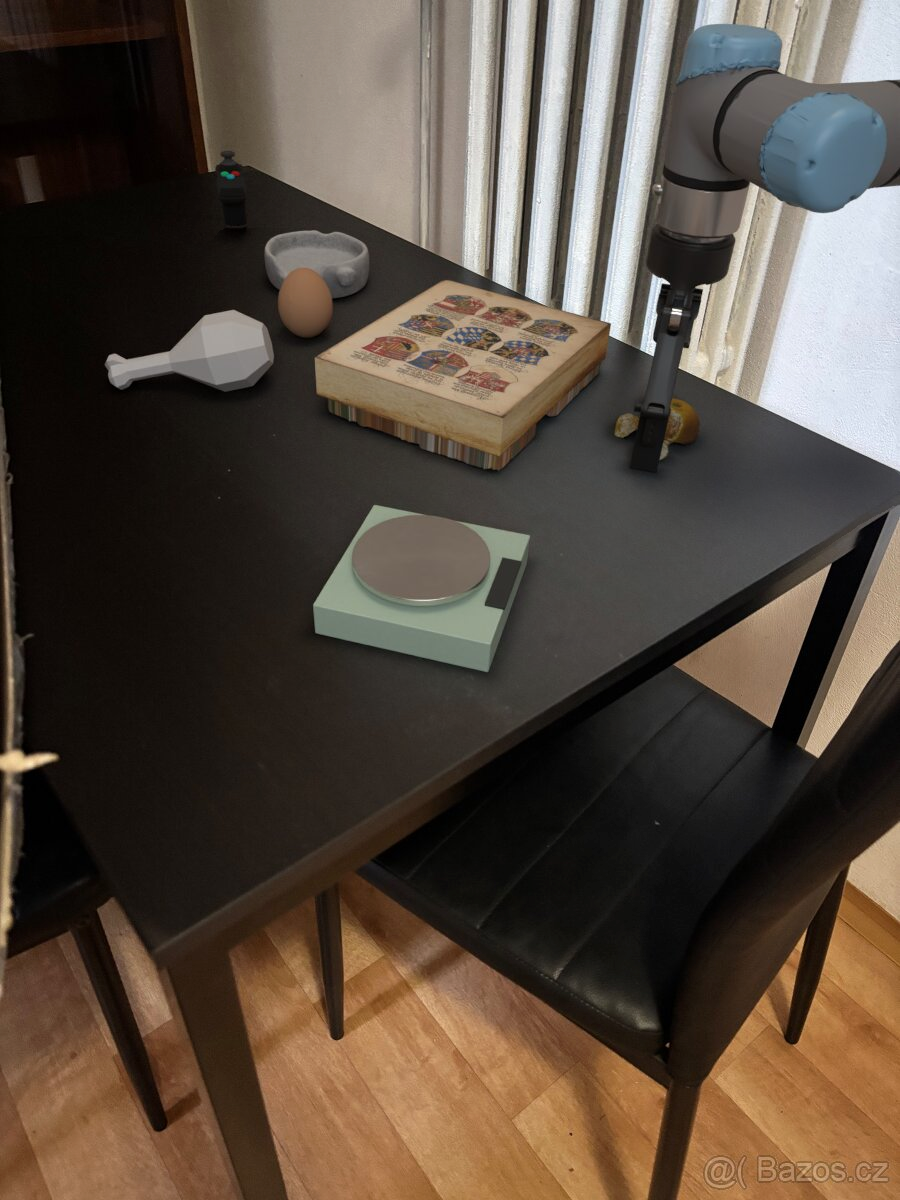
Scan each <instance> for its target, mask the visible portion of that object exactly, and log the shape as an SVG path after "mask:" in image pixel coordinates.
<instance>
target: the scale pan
mask: <svg viewBox="0 0 900 1200" xmlns="http://www.w3.org/2000/svg"><path fill="white" fill-rule="evenodd" d="M457 521H458V520H454V519H451V518H447V517H443V516H438V515H437V516H436V515H430V514H429V515H428V514H423V515H410V516H402V517H397V518H393V519H389V520H386V521H383V522H381V523H379V524H377V525H375V526H373V527H372V528H370V529H369V530H367V531H366V532H365V533H364V534H363V535H362V536H361V537H360V538H359V540H358V541H357V542H356V544H355V546H354V549H353V553H352V564H353V570H354V572H355V575H356V576H357V578H358V580H359V581H360V582H361V583H362V585H363V586H364V587H366V588H367V589H368V590H369V591H371V592H372V593H374V594H375V595H377V596H379V597H381V598H383V599H386V600H389V601H392V602H395V603H399V604H405V605H412V606H433V605H441V604H446V603H450V602H453V601H456V600H459V599H461V598H464V597H465V596H467V595H469V594H471V593H472V592H474V591H475V590H476V589H477V588H478V587H479V586H481V584H482V583H483V582H484V581H485V579H486V577H487V575H488V573H489V569H490V552H489V549H488V547H487V545H486V543H485V541H484V540H483V539H482V538H481V537H480V536H479V535H478V534H477V533H476V532H475V531H473V530H472V529H471V528H469V527H467V526H465V525H464V524H461V523H459V522H460V521H459V522H457Z"/></svg>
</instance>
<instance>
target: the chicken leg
mask: <svg viewBox="0 0 900 1200" xmlns="http://www.w3.org/2000/svg"><path fill="white" fill-rule="evenodd" d="M274 359H275V354H274V348H273V343H272V340H271V336H270V333H269V329H268V327H267V326H266V325H265V323H263V322H261V321H260V320H257V319H255V318H252V317H250V316H248V315H246V314H244V313H241V312H239V311H237V310H235V309H230V310H226V311H220V312H216V313H211V314H206V315H203V316H202V318H200V320H198V322H197V323H195V325H194V326H192V327H191V329H190V330H189V331H188V332H187V333H186V334H185V335H184V336H183V337H182V338H181V339H180V340H179V341H178V342H177V343H176V344H175V345H174V346H173V348H171V350H170V351H164V352H158V353H154V354H149V355H144V356H138V357H133V358H128V359H126V358H124V357H122V356H120V355H119V354H117V353H112V354H109V355H108V357H107V358H106V361H105V363H104V366H105V368H106V369H107V371H108V373H107V377H108V379H109V382H110V384H111V385H112V386H114V387H116V388H117V389H119V390H122V391H123V390H125V389H127V388H129V387H130V386H131V384H132V383H133V382H135V381H140V380H146V379H150V378H151V379H152V378H156V377H161V376H166V375H171V374H177V375H181V376H183V377H186V378H188V379H191V380H193V381H196V382H199V383H201V384H203V385H206V386H208V387H212V388H214V389H216V390H218V391H222V392H225V393H226V392H232V391H237V390H241V389H245V388H246V389H247V388H250V387H254V386H255V384H257V382H258V381H259V380H260V379H261V378H262V377H263V376H264V375H265V373H267V371H268V370H269V369H270V368H271V366H272V365H274Z"/></svg>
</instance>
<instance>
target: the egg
mask: <svg viewBox="0 0 900 1200" xmlns="http://www.w3.org/2000/svg"><path fill="white" fill-rule="evenodd" d="M277 297H278V298H277V307H278V308H277V309H278V313H279V314H278V315H279V317H280V319H281V321H282V323H283V325H284V326H285V327H286V329H288V330H289V331H290V332H291V333H292V334H293V335H294V336H297V337H300V338H303V339H312V338H314V337H317V336H319V335H320V334H322V333H323V332H324V331H325V330H326V329H327V327H328V326H329V324H330V322H331V320H332V317H333V314H334V313H333V311H334V305H333V298H332V297H331V293H330V291H329V289H328V287H327V285H326V283H325V281H324V280H323V279H322V277H321V276H320V275H319V274H318V273H317V272H315V271H313V270H312V269H309V268H298V269H295V270H294V271H292V272H290V273H289V274H288V275H287V277H286V278H285V280H284V282H283V283H282V286H281V289H280V290H279V292H278V296H277Z"/></svg>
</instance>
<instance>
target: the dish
mask: <svg viewBox="0 0 900 1200" xmlns="http://www.w3.org/2000/svg"><path fill="white" fill-rule="evenodd" d="M264 264H265V270H266V273H267V274H266V275H267V277H268V281H269V282H270V283H271V284H272V286H273V287H274V288H276V289H277V290H279V291H280V289H281V286H282V283H283V282H284V280H285V278H286V277H287V275H288V274H289V273H290V272H292V271H294V270H295V269H298V268H309V269H312V270H313V271H315V272H317V273H318V274H319V275H320V276H321V277H322V279H323V280H324V281H325V283H326V285H327V287H328V289H329V291H330V293H331V297H332V299H338V298H344V297H347V296H351V295H353V294H356V293H357V292H359V291H360V290H362V289H363V288H364V287H365V286H366V284H367V282H368V279H369V275H370V254H369V249H368V247H367V245H366V243H364V242H363V241H361V240H359V239H357V238H356V237H353V236H351V235H348V234H346V233H344V232H340V231H333V232H330V233H322V232H320V231H319V230H313V229H312V230H299V231H291V232H285V233H281V234H277V235H275V236H273V237H270V239H269V240H268V241H267V242H266V244H265V246H264Z"/></svg>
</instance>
